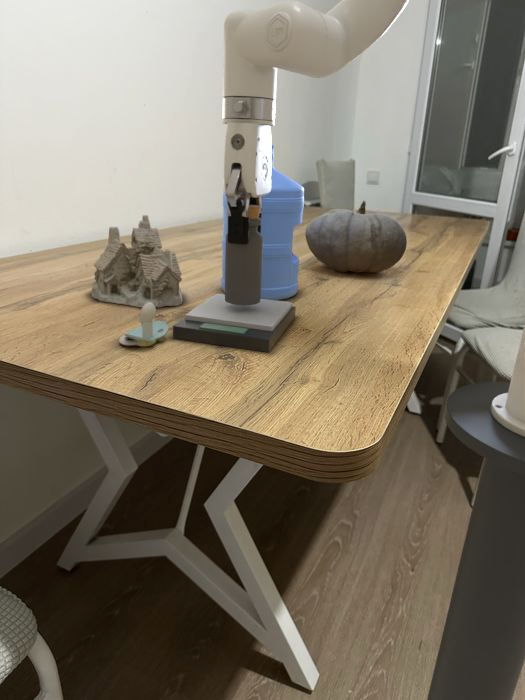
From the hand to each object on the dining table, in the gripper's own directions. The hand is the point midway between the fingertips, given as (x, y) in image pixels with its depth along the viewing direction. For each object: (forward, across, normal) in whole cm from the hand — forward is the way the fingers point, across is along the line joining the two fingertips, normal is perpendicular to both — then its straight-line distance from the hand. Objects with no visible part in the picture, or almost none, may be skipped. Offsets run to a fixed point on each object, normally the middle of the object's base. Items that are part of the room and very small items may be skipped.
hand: (244, 239), depth 81 cm
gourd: (+14, +54, -12) cm, 57 cm away
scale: (+14, -2, 0) cm, 14 cm away
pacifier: (+14, -14, +11) cm, 23 cm away
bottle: (+10, 0, 0) cm, 10 cm away
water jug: (+14, +22, +3) cm, 26 cm away
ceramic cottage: (+14, +8, +23) cm, 28 cm away
